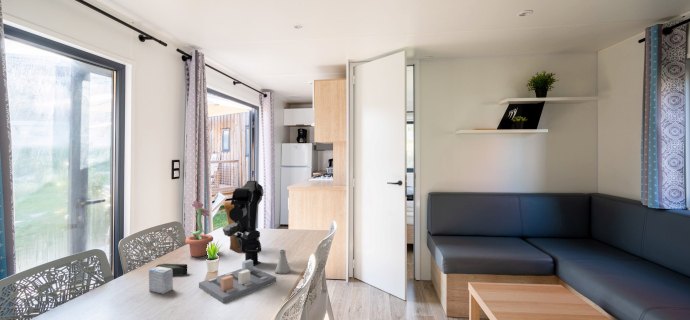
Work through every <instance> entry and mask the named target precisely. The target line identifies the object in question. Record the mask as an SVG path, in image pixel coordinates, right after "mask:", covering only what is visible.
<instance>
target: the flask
mask: <svg viewBox="0 0 690 320" xmlns="http://www.w3.org/2000/svg"><path fill="white" fill-rule="evenodd" d="M286 252H287V249H280V250H279V257H278V262H277V265H276V268H275V271H274V274H278V275H283V274H284V275H286V274H288V273H289V272H291V267H290V265H289V263H288V260H287V259H288V258H287V255H286Z"/></svg>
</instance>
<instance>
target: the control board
mask: <svg viewBox="0 0 690 320" xmlns="http://www.w3.org/2000/svg"><path fill="white" fill-rule="evenodd" d="M241 271H242V268H240V269H237V270H234V271H230V272H227V273H224V274H221V275H218V276H216V277H211V278H209V279H205V280H203V281H199V282H198V288H199V289H201V290H202V291H204V292H205V293H206V294H207V295H210V296H211V297H213V298H214V299H216V300H217V301H219V302H221V304H224V303H227V302H229V301H232V300H234V299H237V298H239V297H242V296H244V295H246V294H247V295H248V294H250V293H253V292H254V291H257V290H259V289H262V288H264V287H267V286H269V285H271V284H274V283H277V276H274V275H273V274H270V273H267V272H266V271H263V270H261V269H259V268H257V267H254V266H253V271H250V282H248V283H245V284H242V285H241V284H239V283H238V272H241ZM229 275H231V276H233V288H232V289H229V290H226V291H222V290H221V278H223V277H226V276H229Z"/></svg>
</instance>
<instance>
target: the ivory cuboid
mask: <svg viewBox="0 0 690 320" xmlns="http://www.w3.org/2000/svg"><path fill="white" fill-rule="evenodd" d="M248 282H250V271H249V270H244V271H241V272H238V283H239V284H241V285H242V284H245V283H248Z"/></svg>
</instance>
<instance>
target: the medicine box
mask: <svg viewBox="0 0 690 320" xmlns="http://www.w3.org/2000/svg"><path fill="white" fill-rule="evenodd" d="M155 267H156V266H155ZM155 267H153V268H151V269H149V270H148V291H149V292H153V293H159V294H162V295H163V294H166V293H168V292H171V291H172V290H174V284H173V283H174V280H173V277H174V275H173V271H172V269H171V268H165V267H156V268H155Z"/></svg>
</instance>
